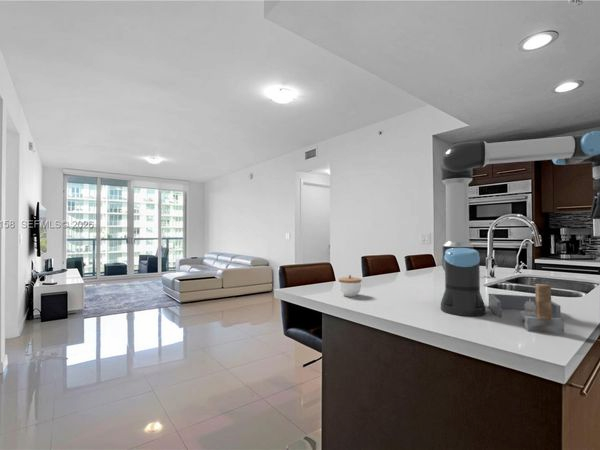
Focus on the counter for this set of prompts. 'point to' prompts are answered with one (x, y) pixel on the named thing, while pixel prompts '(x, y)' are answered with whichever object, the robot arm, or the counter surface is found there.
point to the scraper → (543, 313)
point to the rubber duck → (528, 309)
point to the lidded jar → (350, 286)
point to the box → (517, 303)
